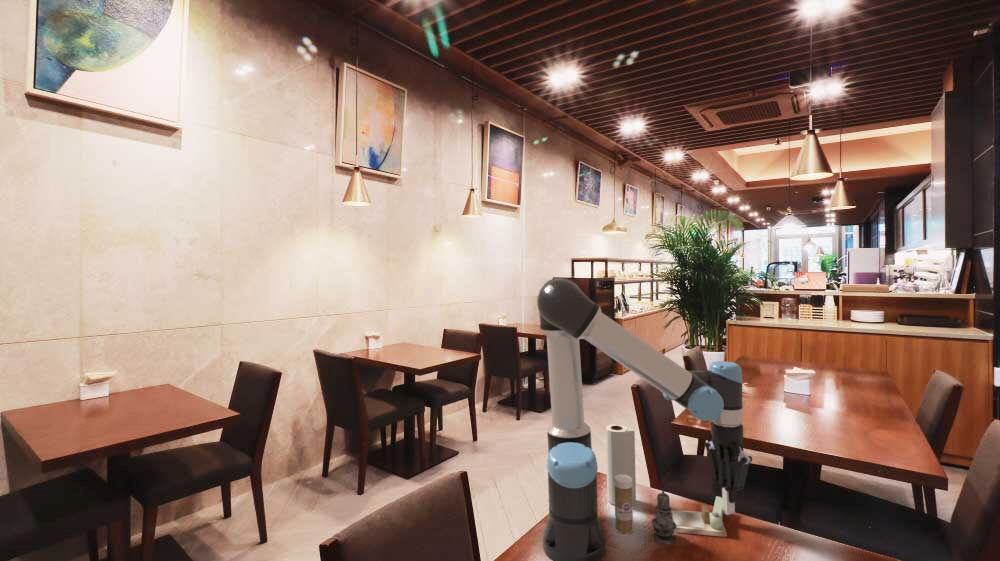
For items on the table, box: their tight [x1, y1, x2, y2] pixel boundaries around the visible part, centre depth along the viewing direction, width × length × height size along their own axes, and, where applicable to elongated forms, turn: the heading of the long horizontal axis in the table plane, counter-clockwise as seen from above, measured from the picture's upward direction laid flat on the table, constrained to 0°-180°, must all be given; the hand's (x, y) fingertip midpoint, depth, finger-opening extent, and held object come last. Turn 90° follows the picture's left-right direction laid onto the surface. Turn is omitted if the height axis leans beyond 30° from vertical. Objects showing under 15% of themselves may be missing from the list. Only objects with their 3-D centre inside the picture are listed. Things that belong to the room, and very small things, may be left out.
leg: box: [710, 495, 724, 529], centre depth 122 cm, size 12×3×3 cm, turn 150°
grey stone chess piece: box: [651, 489, 676, 545], centre depth 116 cm, size 6×6×12 cm
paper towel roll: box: [605, 424, 637, 506], centre depth 134 cm, size 7×6×21 cm
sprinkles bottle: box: [614, 475, 634, 534], centre depth 120 cm, size 5×5×14 cm
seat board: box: [670, 505, 728, 538], centre depth 122 cm, size 12×9×4 cm
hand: (728, 512), depth 122 cm, fingers closed
